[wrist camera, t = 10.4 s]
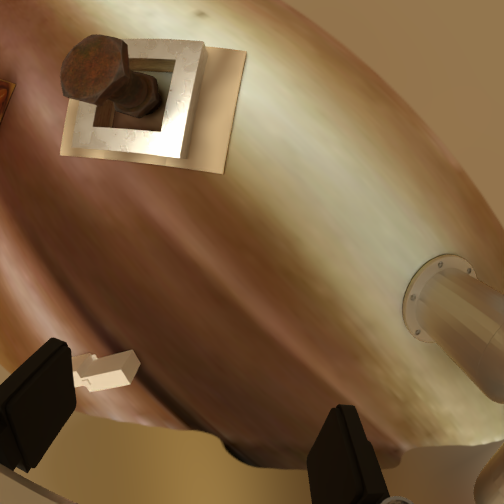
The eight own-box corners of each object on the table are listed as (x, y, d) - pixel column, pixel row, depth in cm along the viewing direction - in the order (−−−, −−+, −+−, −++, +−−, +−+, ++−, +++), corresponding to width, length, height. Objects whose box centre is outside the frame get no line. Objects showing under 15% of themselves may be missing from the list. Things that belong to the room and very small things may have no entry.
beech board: (246, 54, 31) (246, 51, 30) (223, 173, 34) (222, 174, 33) (86, 47, 30) (83, 45, 29) (63, 155, 33) (59, 155, 32)
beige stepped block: (155, 343, 40) (143, 367, 34) (142, 402, 42) (132, 427, 37) (58, 304, 38) (37, 321, 33) (55, 366, 41) (38, 386, 35)
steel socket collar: (208, 54, 30) (203, 41, 26) (187, 159, 33) (179, 158, 29) (109, 51, 29) (95, 40, 25) (88, 148, 32) (71, 147, 28)
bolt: (125, 85, 31) (60, 44, 17) (167, 74, 31) (120, 21, 17) (130, 132, 33) (61, 113, 18) (173, 122, 33) (124, 92, 18)
